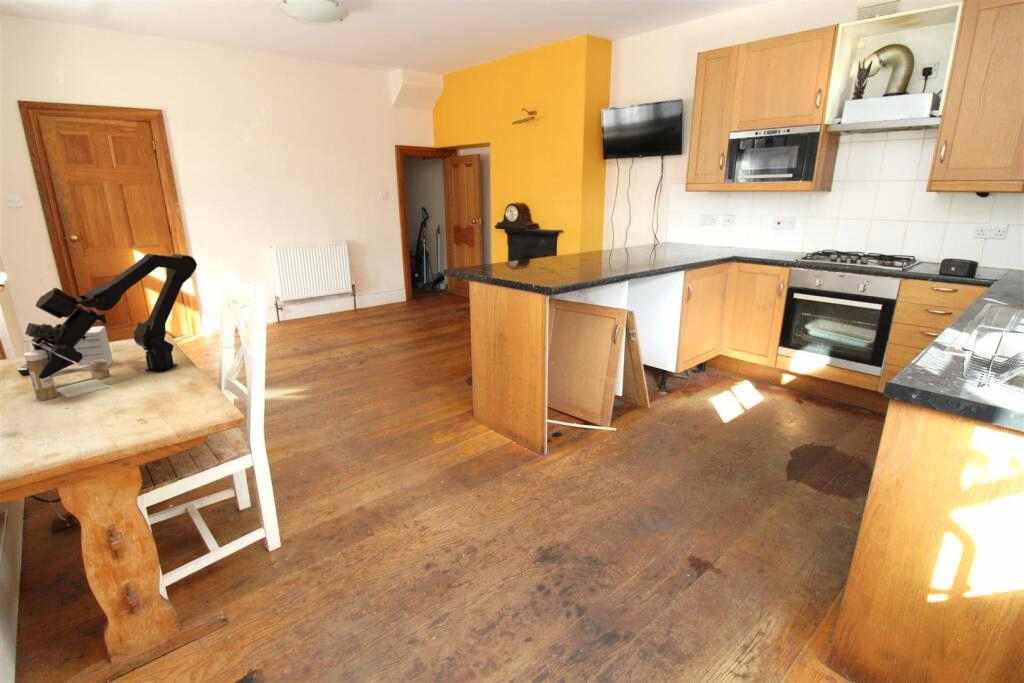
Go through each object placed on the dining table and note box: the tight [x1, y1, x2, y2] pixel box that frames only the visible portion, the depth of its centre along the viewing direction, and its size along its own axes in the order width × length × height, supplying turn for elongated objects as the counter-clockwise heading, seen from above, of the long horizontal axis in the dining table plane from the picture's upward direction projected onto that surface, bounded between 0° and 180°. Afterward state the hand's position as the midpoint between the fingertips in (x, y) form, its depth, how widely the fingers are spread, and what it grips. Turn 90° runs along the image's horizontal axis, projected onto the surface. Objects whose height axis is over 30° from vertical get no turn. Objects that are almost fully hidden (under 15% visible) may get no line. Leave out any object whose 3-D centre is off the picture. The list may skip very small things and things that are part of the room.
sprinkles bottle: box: [23, 350, 58, 401], centre depth 137 cm, size 5×5×14 cm
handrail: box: [52, 359, 111, 380], centre depth 149 cm, size 17×4×5 cm, turn 147°
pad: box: [55, 378, 111, 399], centre depth 146 cm, size 10×10×1 cm
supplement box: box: [74, 325, 114, 371], centre depth 162 cm, size 7×7×13 cm
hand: (34, 374), depth 136 cm, fingers open, 9 cm apart
